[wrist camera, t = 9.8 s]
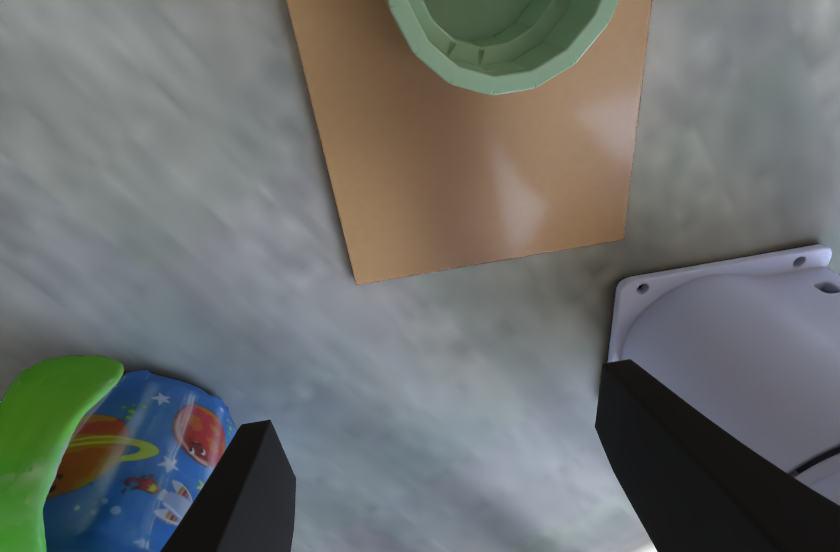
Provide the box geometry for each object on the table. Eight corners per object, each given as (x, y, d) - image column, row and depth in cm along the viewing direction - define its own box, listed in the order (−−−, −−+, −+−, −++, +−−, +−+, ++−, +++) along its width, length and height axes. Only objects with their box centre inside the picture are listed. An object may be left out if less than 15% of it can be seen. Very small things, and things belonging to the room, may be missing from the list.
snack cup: (259, 524, 27) (213, 775, 18) (51, 515, 25) (-114, 801, 16) (293, 308, 19) (242, 564, 11) (-3, 264, 17) (-372, 551, 8)
